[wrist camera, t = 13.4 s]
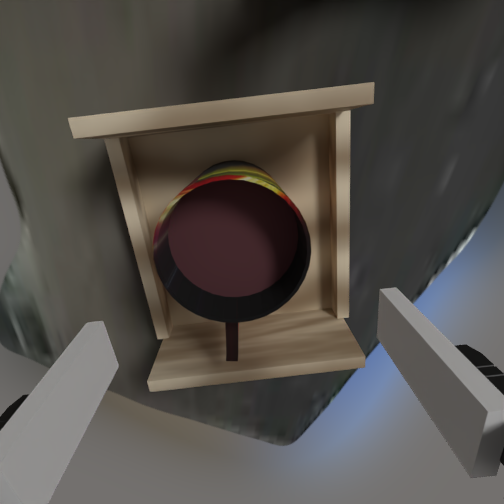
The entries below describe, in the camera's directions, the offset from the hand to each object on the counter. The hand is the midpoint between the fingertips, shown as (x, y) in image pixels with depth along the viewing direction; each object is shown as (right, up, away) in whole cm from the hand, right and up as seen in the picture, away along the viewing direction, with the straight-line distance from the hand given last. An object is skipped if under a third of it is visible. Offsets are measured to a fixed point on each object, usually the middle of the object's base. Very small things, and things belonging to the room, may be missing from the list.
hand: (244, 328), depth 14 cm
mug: (0, +6, +16) cm, 17 cm away
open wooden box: (-1, +6, +17) cm, 18 cm away
